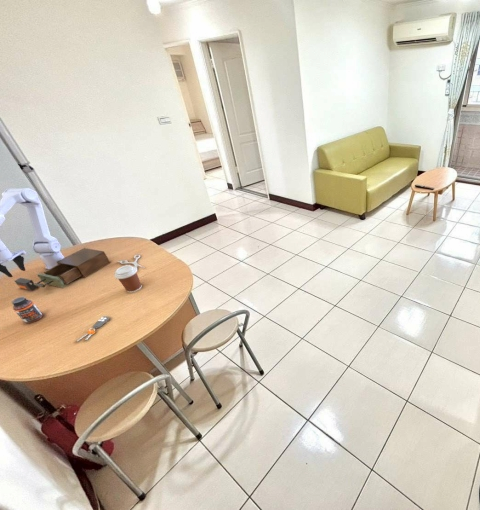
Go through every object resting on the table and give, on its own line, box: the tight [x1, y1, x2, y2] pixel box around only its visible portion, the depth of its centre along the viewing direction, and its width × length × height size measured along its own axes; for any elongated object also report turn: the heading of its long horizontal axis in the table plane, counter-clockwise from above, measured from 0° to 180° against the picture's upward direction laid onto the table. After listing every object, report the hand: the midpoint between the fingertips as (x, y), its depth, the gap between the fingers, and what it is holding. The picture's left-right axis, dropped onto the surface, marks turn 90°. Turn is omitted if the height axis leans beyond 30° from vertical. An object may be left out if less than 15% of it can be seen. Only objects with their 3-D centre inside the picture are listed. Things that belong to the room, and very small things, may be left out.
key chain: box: [76, 315, 110, 342], centre depth 115 cm, size 13×4×2 cm, turn 174°
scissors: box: [117, 254, 144, 270], centre depth 155 cm, size 11×1×20 cm
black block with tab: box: [14, 277, 39, 292], centre depth 137 cm, size 9×3×5 cm, turn 75°
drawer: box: [34, 264, 82, 289], centre depth 140 cm, size 18×13×6 cm
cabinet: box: [57, 247, 111, 279], centre depth 150 cm, size 15×15×8 cm
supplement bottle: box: [11, 296, 44, 324], centre depth 118 cm, size 6×6×11 cm
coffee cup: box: [114, 264, 143, 293], centre depth 134 cm, size 9×9×12 cm
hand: (17, 273), depth 133 cm, fingers open, 5 cm apart
